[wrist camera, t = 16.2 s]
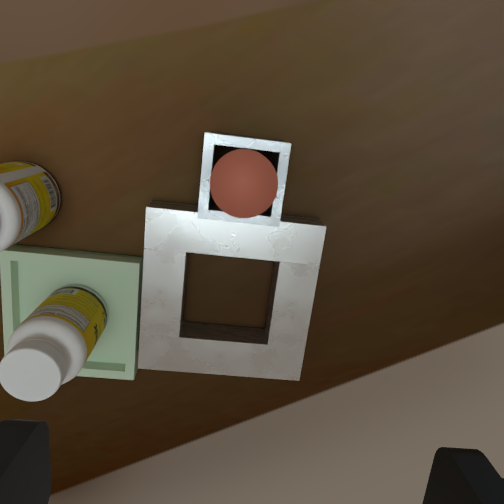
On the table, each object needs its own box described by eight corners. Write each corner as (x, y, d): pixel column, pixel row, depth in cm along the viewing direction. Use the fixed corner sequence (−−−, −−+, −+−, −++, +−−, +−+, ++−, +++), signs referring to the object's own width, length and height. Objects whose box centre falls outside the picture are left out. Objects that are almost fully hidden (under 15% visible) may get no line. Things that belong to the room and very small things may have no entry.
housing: (330, 146, 35) (347, 150, 30) (294, 362, 40) (303, 394, 36) (157, 124, 33) (145, 125, 29) (144, 350, 39) (132, 382, 34)
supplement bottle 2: (88, 350, 38) (43, 424, 29) (34, 318, 37) (-31, 384, 28) (122, 305, 37) (86, 367, 28) (66, 270, 36) (10, 323, 27)
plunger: (274, 149, 33) (282, 154, 28) (266, 206, 35) (273, 221, 29) (215, 141, 33) (213, 145, 28) (210, 200, 34) (206, 214, 29)
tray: (143, 256, 37) (139, 263, 35) (138, 368, 40) (133, 380, 38) (10, 243, 36) (-1, 249, 34) (15, 359, 39) (5, 370, 37)
